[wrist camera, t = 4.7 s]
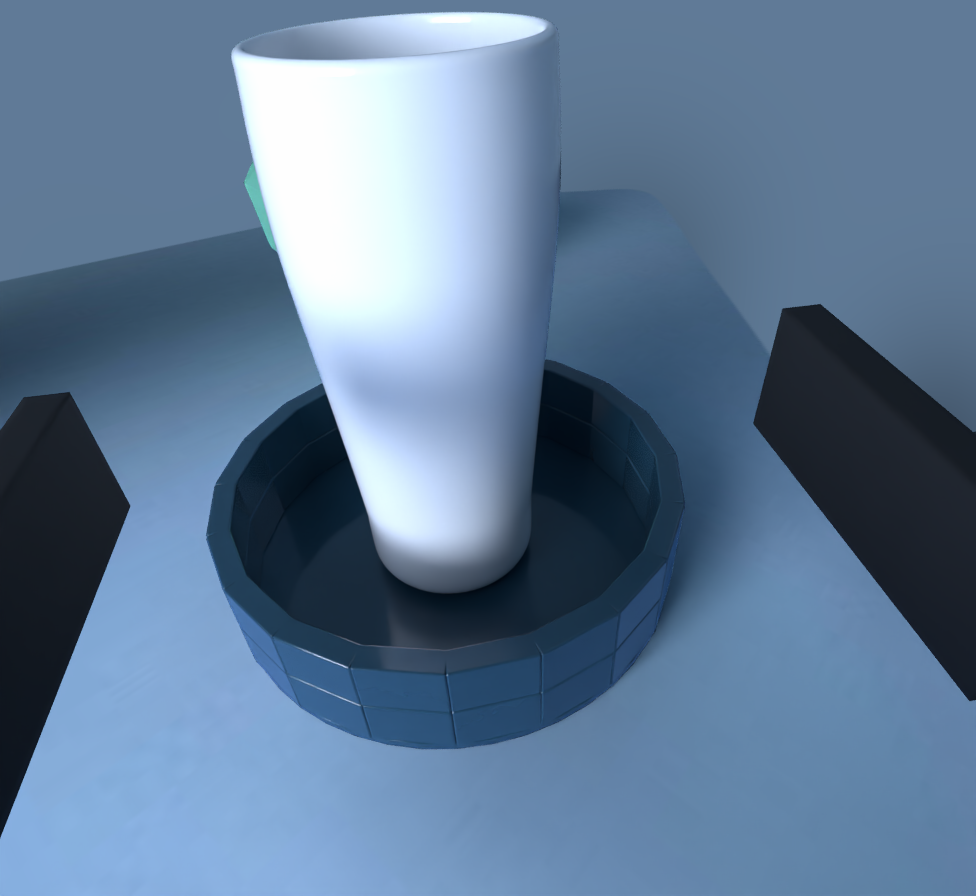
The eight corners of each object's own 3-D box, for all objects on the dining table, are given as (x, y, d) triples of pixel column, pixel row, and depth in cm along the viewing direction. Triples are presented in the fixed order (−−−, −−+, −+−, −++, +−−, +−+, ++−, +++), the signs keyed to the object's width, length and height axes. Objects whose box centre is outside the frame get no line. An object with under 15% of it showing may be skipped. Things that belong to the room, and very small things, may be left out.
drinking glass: (516, 459, 26) (504, 3, 17) (584, 589, 21) (621, 37, 12) (344, 499, 25) (225, 28, 15) (372, 647, 20) (220, 77, 10)
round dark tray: (162, 566, 23) (121, 490, 21) (453, 385, 31) (446, 315, 29) (458, 877, 15) (445, 808, 13) (745, 526, 23) (768, 447, 21)
